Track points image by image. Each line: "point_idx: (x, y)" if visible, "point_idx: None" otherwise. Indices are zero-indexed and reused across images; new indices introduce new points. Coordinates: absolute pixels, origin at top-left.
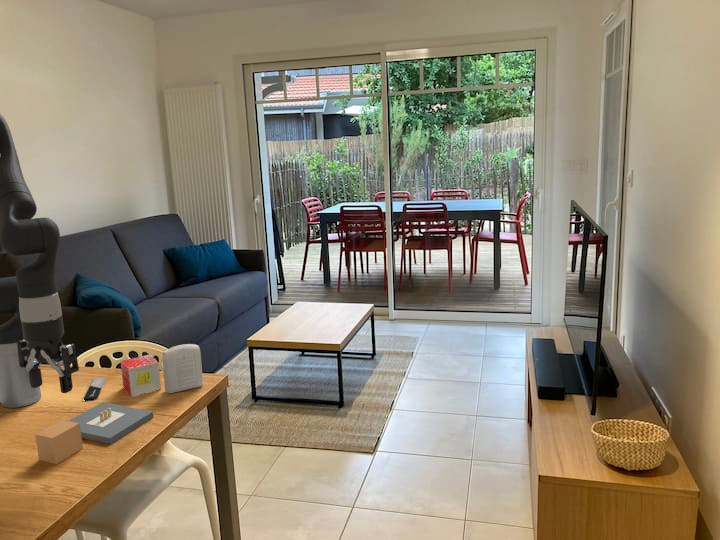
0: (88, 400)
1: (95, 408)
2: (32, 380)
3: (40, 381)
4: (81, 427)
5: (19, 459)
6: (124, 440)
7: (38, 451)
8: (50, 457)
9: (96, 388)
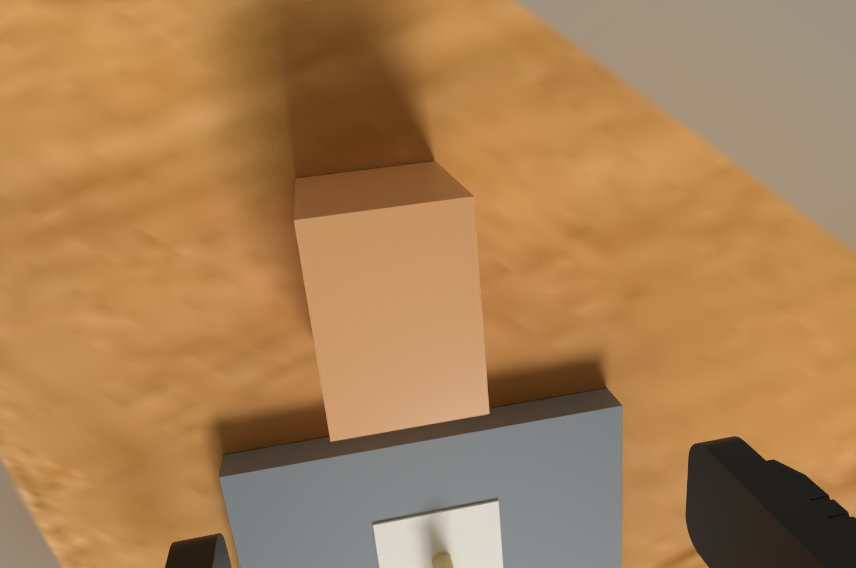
0: None
1: None
2: (760, 499)
3: (715, 553)
4: (486, 467)
5: (549, 113)
6: (193, 513)
7: (438, 171)
8: (338, 180)
9: None
